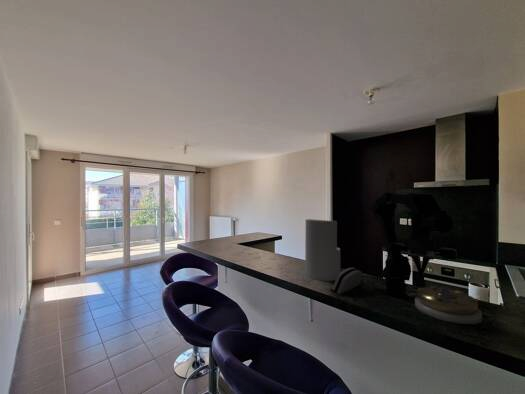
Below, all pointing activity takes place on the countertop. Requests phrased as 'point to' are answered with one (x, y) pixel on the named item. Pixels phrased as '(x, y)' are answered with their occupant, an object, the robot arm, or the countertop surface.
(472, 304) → the shallow round tray
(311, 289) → the countertop surface
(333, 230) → the cylinder
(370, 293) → the countertop surface
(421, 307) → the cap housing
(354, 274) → the dark grey curved piece
